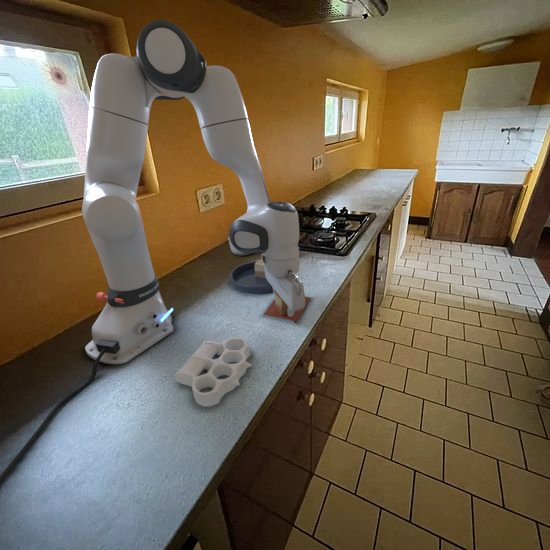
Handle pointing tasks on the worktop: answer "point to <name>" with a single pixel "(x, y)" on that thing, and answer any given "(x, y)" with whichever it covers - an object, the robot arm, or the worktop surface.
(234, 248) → the teacup
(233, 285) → the pan
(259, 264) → the block
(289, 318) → the mat
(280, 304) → the block
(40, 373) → the worktop surface
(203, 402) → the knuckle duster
